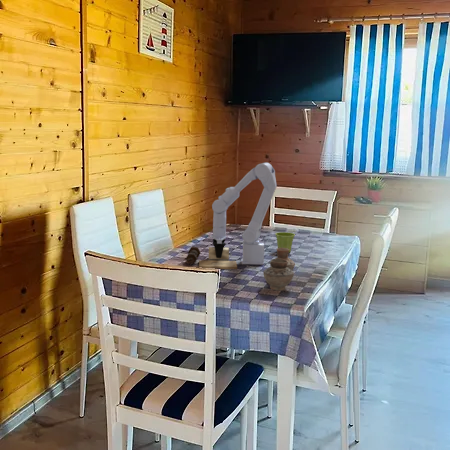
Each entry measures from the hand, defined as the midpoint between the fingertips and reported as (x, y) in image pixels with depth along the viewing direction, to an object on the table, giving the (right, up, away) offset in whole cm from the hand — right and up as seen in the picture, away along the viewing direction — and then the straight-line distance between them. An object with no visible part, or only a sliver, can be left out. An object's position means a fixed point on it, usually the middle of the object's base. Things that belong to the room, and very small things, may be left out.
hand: (218, 256), depth 244 cm
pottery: (+24, -9, -34) cm, 43 cm away
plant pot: (+31, +1, +20) cm, 37 cm away
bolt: (-12, -2, -4) cm, 13 cm away
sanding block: (0, -1, 0) cm, 2 cm away
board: (0, -3, -11) cm, 12 cm away
